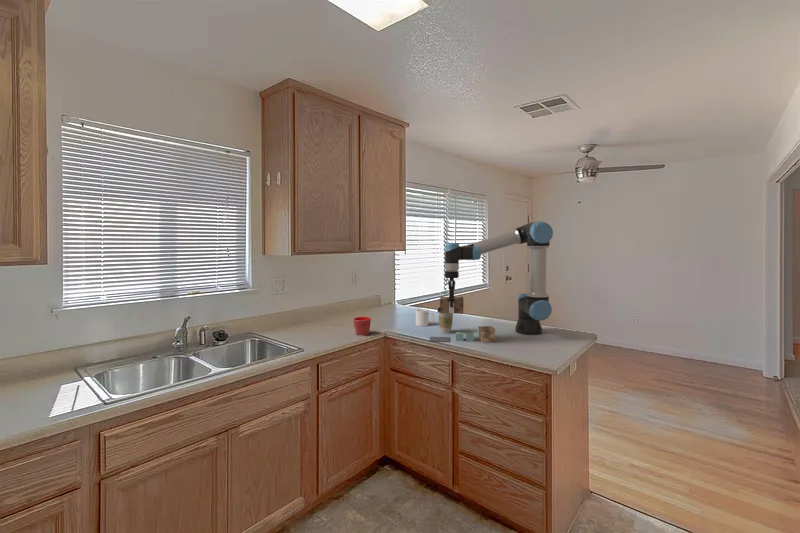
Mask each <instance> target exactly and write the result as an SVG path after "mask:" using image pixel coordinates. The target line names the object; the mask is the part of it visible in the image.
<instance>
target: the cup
mask: <svg viewBox="0 0 800 533" xmlns="http://www.w3.org/2000/svg"><path fill="white" fill-rule="evenodd" d="M429 315H431V320H429ZM434 320H435V319H434V313H433V312H431V311H429V309H428V308H418V309H417V308H416V309H415V326H417V327H420V328H421V327H423V328H424V327H428V326H429V324H431V323H433V322H434Z"/></svg>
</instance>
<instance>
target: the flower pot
mask: <svg viewBox="0 0 800 533" xmlns="http://www.w3.org/2000/svg"><path fill="white" fill-rule="evenodd" d="M352 321H353V326H354V329H355V335H356V336H359V335H364V336H368V335H369V334H370V329H371V321H372V318H371V317H370V316H358V317H356V316H355V317H353V319H352Z"/></svg>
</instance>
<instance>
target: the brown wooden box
mask: <svg viewBox="0 0 800 533" xmlns="http://www.w3.org/2000/svg"><path fill="white" fill-rule="evenodd" d="M451 299H453V298H451ZM448 300H449V296H440V298H439V307H440V313H449V301H448ZM453 314H456V315H458V314H461V315H462V314H464V296H454V313H453Z"/></svg>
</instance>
